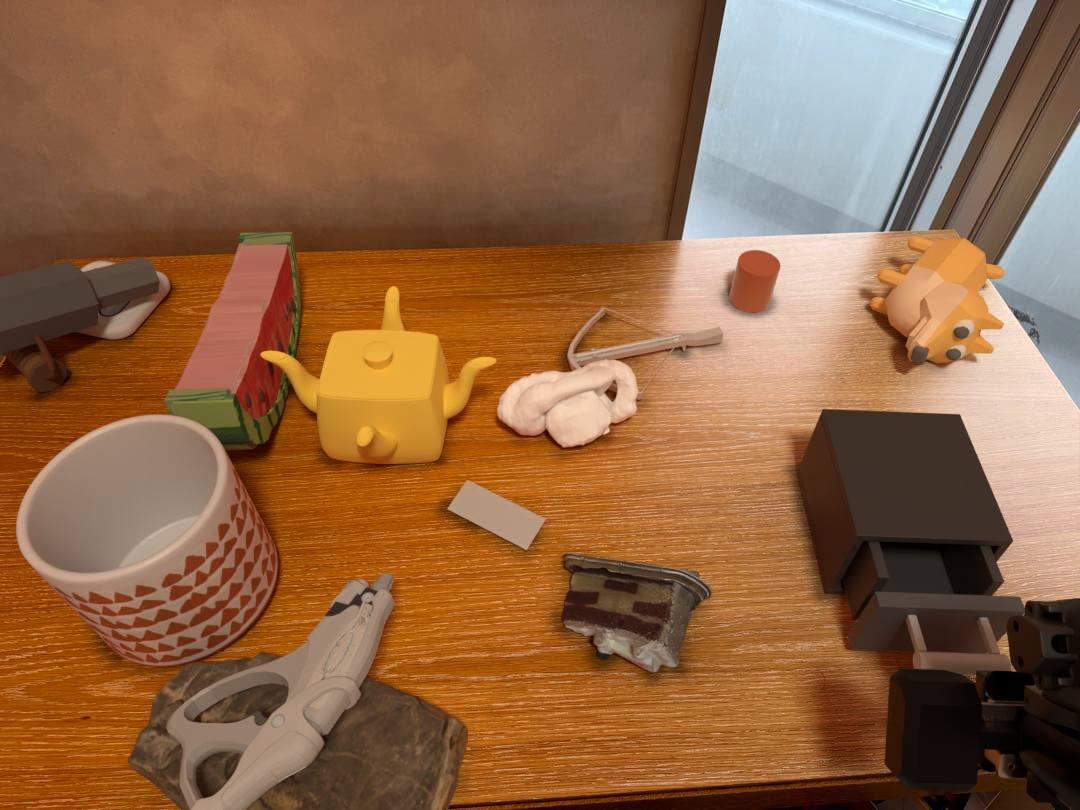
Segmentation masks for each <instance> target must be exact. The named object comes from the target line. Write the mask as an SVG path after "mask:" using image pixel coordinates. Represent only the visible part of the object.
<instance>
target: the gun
mask: <svg viewBox="0 0 1080 810" xmlns="http://www.w3.org/2000/svg"><path fill="white" fill-rule="evenodd" d="M394 581H395V579H394V577H393V575H392V574H390V573H388V572H384V573H382V574H381V575H380V576H379V577H377V578H376V579H375V580H374V581H373V583H372V584H371V586H370V584H369V583H368V581H367V580H365V579H364V578H357V580H355V579H349V580H348V581H347V582H346V583H345V585H344V586H343V587H342V589H341V590H340V591H339V592H338V593H337V595H336V596H335V597H334V599H333V601H331V603H330V605H329V610H327V612H326V613H325V616H323V617H322V618H321V619H320V620H319V622H318V623H317V624H316V626H315V627H314V628H313V629H312V630H311V632H309V634H308V635H307V637H306V642H304V643H303V644H302V645H300V646H299V647H298V648H296V649H295V650H292V651H291V652H289V653H288V654H285V655H283V656H280V657H279V658H278V659H276V660H274V661H272V662H268V663H265V664H261V665H258V666H255V667H252V668H249V669H246V670H243V671H240V672H237V673H235V674H233V675H230V676H228V677H226V678H224V679H222V680H220V681H218V682H216V683H214V684H212V685H210V686H209V687H207V688H205V689H203V690H202V691H200V692H199V693H197V694H196V695H194V696H193V697H192V698H190V699H189V700H187V701H186V702H185V703H184V704H183V705H181V706H180V707H179V708H178V709H177V710H176V711H175V712H174V713H173V714H172V715H171V717H170V718H169V720H168V722H167V726H166V728H167V731H168V733H169V734H170V735H171V736H172V737H173V738H174V739H175V740H177V741H178V742H179V743H181V745H182V748H183V757H182V762H181V769H180V788H181V790H182V792H183V795H184V797H185V799H186V801H187V804H188V806H189V808H190V810H246V809H247V808H248V807H249V806H250V805H251V804H252V803H253V802H255V801H256V800H257V799H258V798H259V797H261V796H262V795H263V794H264V793H265V792H266V791H268V790H269V789H270V788H272V787H273V786H275V785H276V784H278V783H279V782H281V781H282V780H284V779H285V778H287V777H289V776H291V775H293V774H295V773H297V772H299V771H300V770H302V769H304V768H305V767H306V766H308V765H309V764H311V763H312V762H313V761H314V759H315V758H316V757H317V755H318V753H319V752H320V750H321V749H322V747H323V746H324V741H323V739H322V737H321V735H327V734H329V732H330V731H331V729H332V728H333V726H334V725H335V723H336V722H337V720H338V719H339V717H340V716H341V715H342V713H343V712H344V710H347V709H349V708H351V707H352V706H354V705H355V704H356V702H357V701H358V699H359V698H360V696H361V692H360V690H359V687H360V685H361V684H362V682H363V680H364V679H365V677H367V675H368V673H369V671H370V670H371V667H372V666H373V662H374V660H375V659H376V658H375V657H376V655H377V653H378V649H379V646H380V642H381V638H382V635H383V631H384V628H385V625H386V622H387V621H388V618H389V617H390V615H391V613H392V612H393V609H394V608H395V606H396V603H395V599H394V597H393V595H392V593H391V592H390V591H391V589H392V586H393V584H394ZM270 683H273V684H280V685H285V686H286V687H288V688H289V692H288V697H287V700H286V702H285V704H283V705H282V706H281V707H280V708H278V709H277V710H276V711H274V712H273V713H272V714H271V716H270V717H269V718H266V717H264V716H263V714H262V713H261V712H260V711H256V712H254V713H252V714H250V715H248V716H246V717H244V718H243V719H242V720H241V721H238V722H234V723H197V722H193V720H194V718H195V717H196V716H198V715H199V714H200V713H201V712H202V711H204V710H205V709H207V708H208V707H210V706H212V705H213V704H215V703H216V702H218V701H220V700H222V699H224V698H226V697H228V696H230V695H232V694H234V693H237V692H239V691H242V690H245V689H248V688H251V687H254V686H257V685H263V684H270ZM221 752H237V753H242V754H243V755H242V757H241V759H240V761H239V764H238V766H237V768H236V770H235V772H234V774H233V775H232V777H231V778H230V779H229V781H228V782H227V783H226V784H225V785H224V786H223V788H222V789H221V790H220V791H218V792H217V793H216V794H215V795H213V796H211V797H208V798H203V796H202V794H201V792H200V791H199V789H198V787H197V785H196V770H197V769H198V767H199V765H200V764H201V763H202V762H203V761H204V760H205V759H207V758H208V757H210V756H211V755H214V754H216V753H221Z"/></svg>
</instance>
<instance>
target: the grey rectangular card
mask: <svg viewBox="0 0 1080 810" xmlns="http://www.w3.org/2000/svg"><path fill="white" fill-rule="evenodd" d="M446 510H448V511H450V512H451V513H454V514H456V515H457V516H459V517H461V518H463V519H465V520H467V521H469V522H471V523H473V524H475V525H477V526H478V527H481V528H483V529H485V530H486V531H488V532H490V533H493V534H494V535H495V536H498V537H499V538H502V539H504V540H505V541H508V542H509V543H511V544H513V545H516V546H518V547H519V548H521V549H523V550H525V551H528V549H529V548H530V545H531V544H532V542H533V541H534V539H535V538H536V536H537V535H538V533H539V531H540V529H541V528H542V527H543V524H545V521H546V520H547V518H545V517H543V516H541V515H539V514H537V513H535V512H533V511H531V510H529V509H527V508H525V507H523V506H521V505H519V504H518V503H515V502H513V501H512V500H509V499H507V498H505V497H502V496H501V495H499V494H496V493H495V492H493V491H491V490H489V489H486V487H483V486H481V485H479V484H476V483H474V482H472V481H471V480H469V479H467V480H466V481H465V482H464V483H463V485H462V487H461V488H460V489H459V490H458V492H457V494H456V495H455V497H454V498H453V500H452V501H451V502H450V504H449V506H447V508H446Z"/></svg>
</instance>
